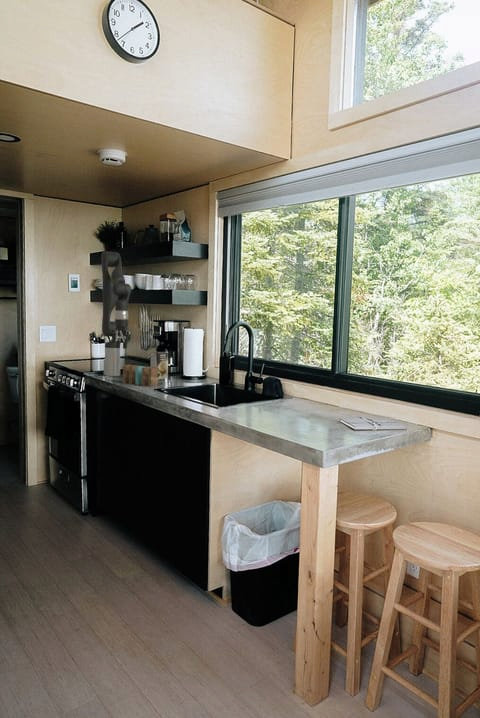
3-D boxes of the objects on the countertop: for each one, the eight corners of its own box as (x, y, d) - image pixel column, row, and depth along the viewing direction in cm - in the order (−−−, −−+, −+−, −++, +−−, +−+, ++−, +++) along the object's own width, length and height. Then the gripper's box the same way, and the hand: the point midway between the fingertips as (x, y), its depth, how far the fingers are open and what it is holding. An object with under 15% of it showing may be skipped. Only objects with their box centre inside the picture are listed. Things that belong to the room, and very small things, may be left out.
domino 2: (129, 383, 296) (129, 366, 295) (135, 382, 300) (135, 365, 299) (131, 384, 294) (131, 366, 294) (138, 383, 299) (138, 365, 298)
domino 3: (135, 384, 293) (135, 366, 292) (141, 383, 297) (142, 366, 296) (138, 384, 292) (138, 366, 291) (144, 383, 296) (144, 366, 295)
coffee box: (157, 379, 316) (157, 352, 314) (150, 378, 320) (150, 352, 318) (168, 378, 323) (168, 352, 322) (160, 377, 327) (161, 351, 325)
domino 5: (148, 386, 287) (148, 368, 286) (154, 385, 291) (155, 367, 290) (151, 386, 286) (151, 368, 285) (157, 385, 290) (157, 367, 289)
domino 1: (123, 382, 298) (123, 365, 298) (129, 382, 303) (129, 364, 302) (125, 383, 297) (125, 365, 296) (131, 382, 301) (132, 365, 301)
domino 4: (141, 385, 290) (142, 367, 289) (148, 384, 294) (148, 366, 293) (144, 385, 289) (144, 367, 288) (150, 384, 293) (151, 367, 292)
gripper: (135, 319, 299) (135, 348, 300) (117, 318, 307) (117, 347, 308) (125, 318, 292) (125, 349, 294) (107, 318, 301) (107, 348, 302)
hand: (121, 348), depth 301 cm, fingers open, 5 cm apart
